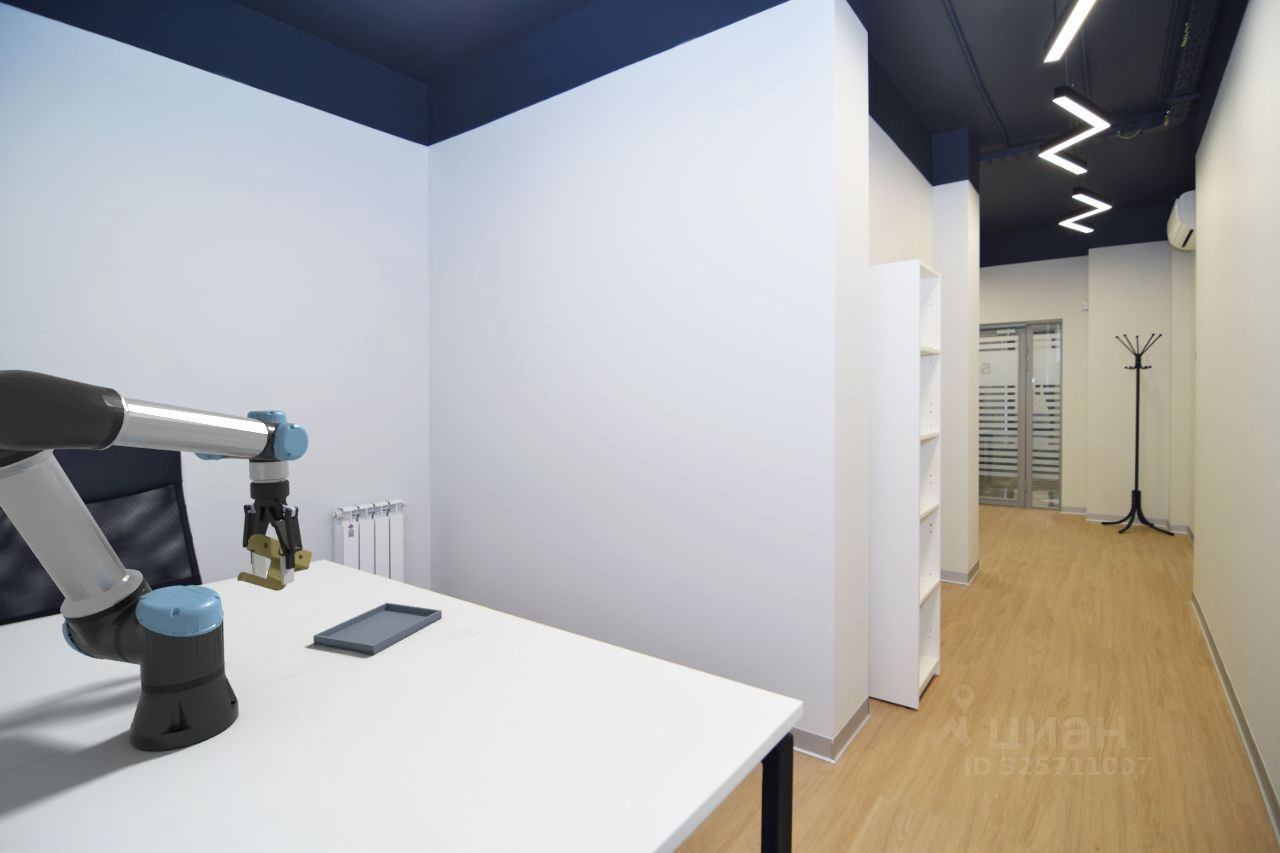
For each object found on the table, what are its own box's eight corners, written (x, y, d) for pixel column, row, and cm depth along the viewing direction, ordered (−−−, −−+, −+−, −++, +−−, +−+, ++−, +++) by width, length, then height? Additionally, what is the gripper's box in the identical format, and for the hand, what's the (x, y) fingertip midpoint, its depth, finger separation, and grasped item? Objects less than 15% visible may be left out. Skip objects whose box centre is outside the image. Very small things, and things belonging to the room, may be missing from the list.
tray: (373, 655, 137) (373, 646, 137) (313, 644, 143) (313, 635, 143) (441, 618, 159) (441, 610, 159) (387, 610, 165) (386, 602, 164)
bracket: (272, 603, 145) (302, 596, 142) (211, 587, 134) (243, 579, 130) (284, 559, 151) (313, 551, 147) (226, 540, 139) (257, 532, 136)
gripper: (319, 479, 139) (322, 580, 140) (251, 475, 146) (255, 571, 147) (290, 484, 132) (293, 591, 133) (220, 480, 139) (224, 581, 140)
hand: (273, 580), depth 140 cm, fingers closed on bracket, 8 cm apart
